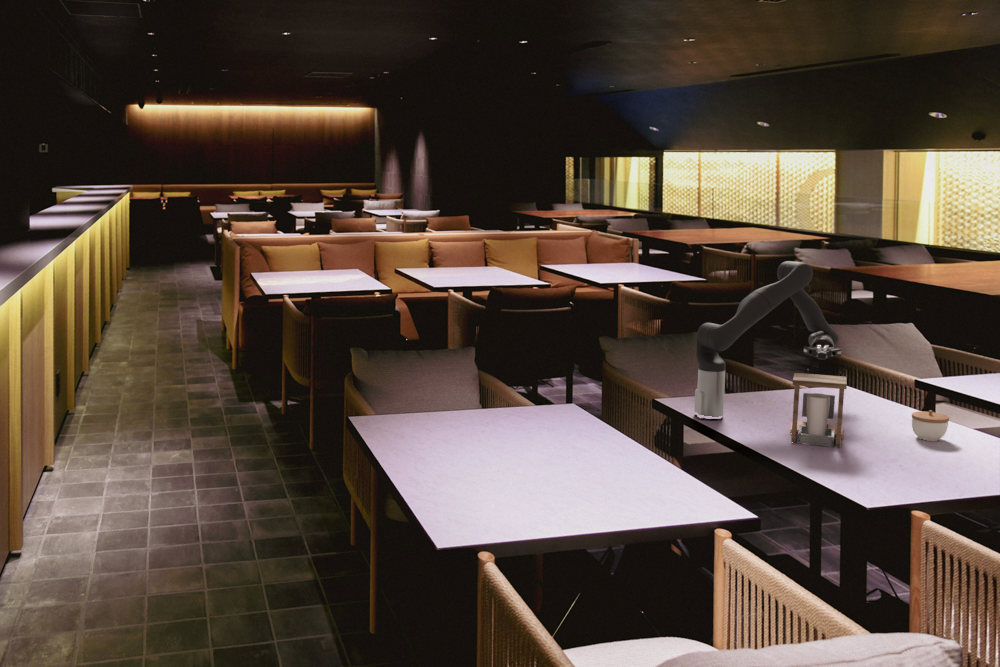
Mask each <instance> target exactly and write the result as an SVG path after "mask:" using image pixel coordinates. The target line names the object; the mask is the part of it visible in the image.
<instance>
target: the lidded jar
mask: <svg viewBox="0 0 1000 667" xmlns="http://www.w3.org/2000/svg"><path fill="white" fill-rule="evenodd" d="M949 421H950V417H949V416H948V415H947V414H943V413H940V412H935V411H934V410H931V409H930V410H928V411H924V410H923V411H921V410H920V411H914V412H912V413H911V428H912V431H913V433H914V434H915V435H916V436H917V439H919V438H920V439H919V440H921V439H923V440H922V441H925V440H927V441H926V442H938V441H937V440H940V439H941V438H943V437H944V436H945V434H946V433H947V430H948V427H949Z"/></svg>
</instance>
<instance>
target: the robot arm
mask: <svg viewBox="0 0 1000 667" xmlns="http://www.w3.org/2000/svg"><path fill="white" fill-rule="evenodd" d="M813 275H814V270H813V268H812V266H811V265H809V264H808V263H805V262H801V261H794V260H793V261H791V260H786V261H783V262H782V263H779V266H778V268H777V271H776V277H777V279H778V281H776V282H774V283H770V284H767V285H765V286H762V287H760V288H757V289H755V290H754V291H751V293H749V294H748V295H746V296H745V297H744V298H743V299H742V300H741V301H740V302H739V305H738V307H737V310H736V313H735V315H734V316H733V317H732V318H730V319H729V320H727V321H726V322H724V323H723V324H718V323H714V322H713V323H712V322H704V323H703V324H701V325H700V326H699V327H698V330H697V333H696V342H695V343H696V346H695V348H696V349H695V350H696V351H695V352H696V356H695V357H696V361H697V364H698V365H697V366H698V369H697V370H698V371H697V388H696V389H695V390H694V410H693V412H694V411H695V412H697V413H698V414H699V415H704V416H712V417H719V416H722V415H723V416H724V409H725V408H724V405H725V388H726V386H725V384H726V362H725V360H724V359H723V358H722V357H721V356H720V355H719V352H723V351H726V350H727V349H729V348H730V347H731V346H732V345H733V344H734V343H735V342H736V341H737V340H738V339H739V338H740V337H741V336H742V335H743V334H744V333H745V332H746V331H747V330H749V329H750V328H751V327H752V326H754V325H755V324H756V323H757V322H758V321H761V319H763V318H764V317H765V316H766V315H768V314H770V312H772V311H773V310H774V309H775V308H776V307H778V306H779V305H780V304H782V303H783V302H784V301H786V300H787V299H788V298H790V299H791V300H792V302H793V303H794V305H795V306H796V308H797V309H798V311H799V314H800V315H801V318H802V320H803V322H804V323H805V325H806V328H807V329H808V331H810V332H812V333H811V334H810V335H809V336H808V344H809V346H806V345H805V346H803V354H804V355H808V356H811V357H815V358H816V359H818V360H827V359H829V358H830V359H831V358H835V357H841V356H842V348H841V347H840V348H835V346H837V345H838V343H839V342H840V340H839V338H840V337H839V335H838V332H837V331H836V330H835V329H834V328H833V327H832V326H831V325H830V324H829V323H828V322H827V320H826V318H825V316H824V313H823V312H822V309H821V308H820V306H819V305H818V303H817V301H815V300H814V299H813V298H812V297H811V296H810V295H809V294H808V293H807V292H806V290H805V289H804V288H806V287H807V286H808V285H809V284H810V283H811V281H812V279H813V277H814V276H813Z"/></svg>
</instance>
